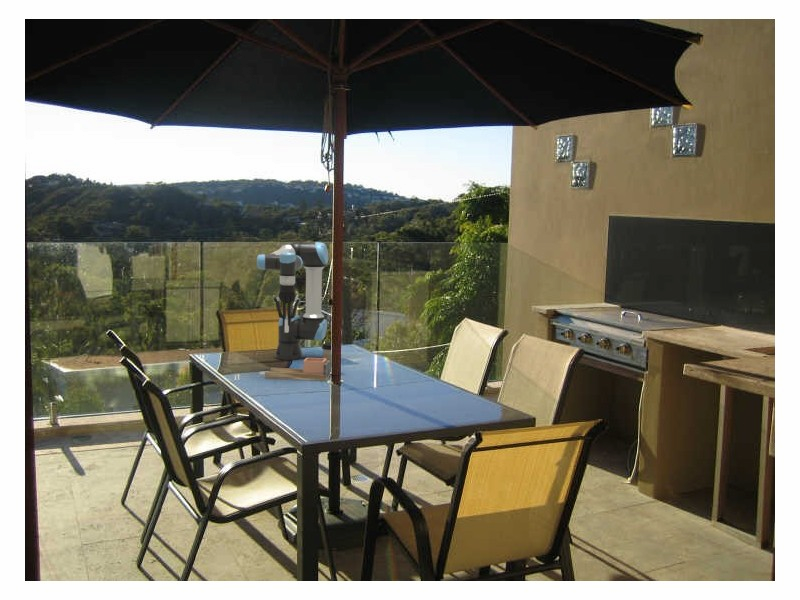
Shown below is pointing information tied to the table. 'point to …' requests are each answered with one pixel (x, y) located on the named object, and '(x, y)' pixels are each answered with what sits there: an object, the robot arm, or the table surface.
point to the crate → (314, 365)
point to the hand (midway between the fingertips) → (286, 332)
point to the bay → (298, 374)
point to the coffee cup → (327, 352)
